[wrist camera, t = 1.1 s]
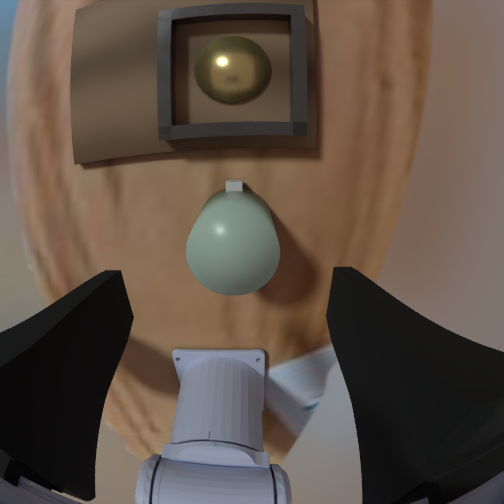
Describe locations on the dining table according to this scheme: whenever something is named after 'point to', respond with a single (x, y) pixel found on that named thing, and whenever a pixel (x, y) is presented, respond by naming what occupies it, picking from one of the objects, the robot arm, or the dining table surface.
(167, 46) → the dark grey square frame
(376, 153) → the dining table surface
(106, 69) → the board
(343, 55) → the dining table surface
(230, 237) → the pale green pear shape
